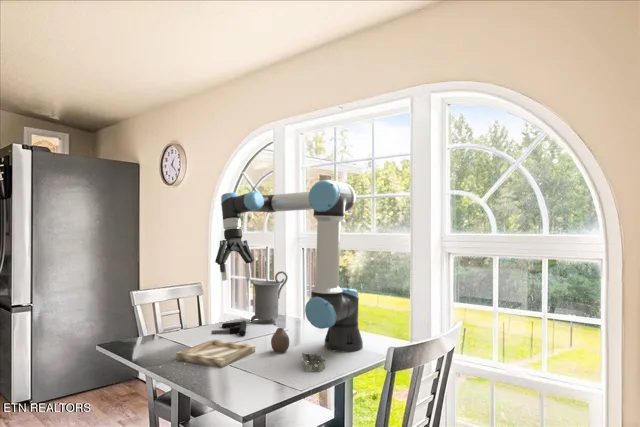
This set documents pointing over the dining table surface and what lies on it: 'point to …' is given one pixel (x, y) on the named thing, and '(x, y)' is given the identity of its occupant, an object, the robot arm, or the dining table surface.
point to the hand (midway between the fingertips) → (237, 279)
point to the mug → (267, 298)
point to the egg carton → (313, 362)
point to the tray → (215, 353)
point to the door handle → (232, 328)
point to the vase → (280, 341)
